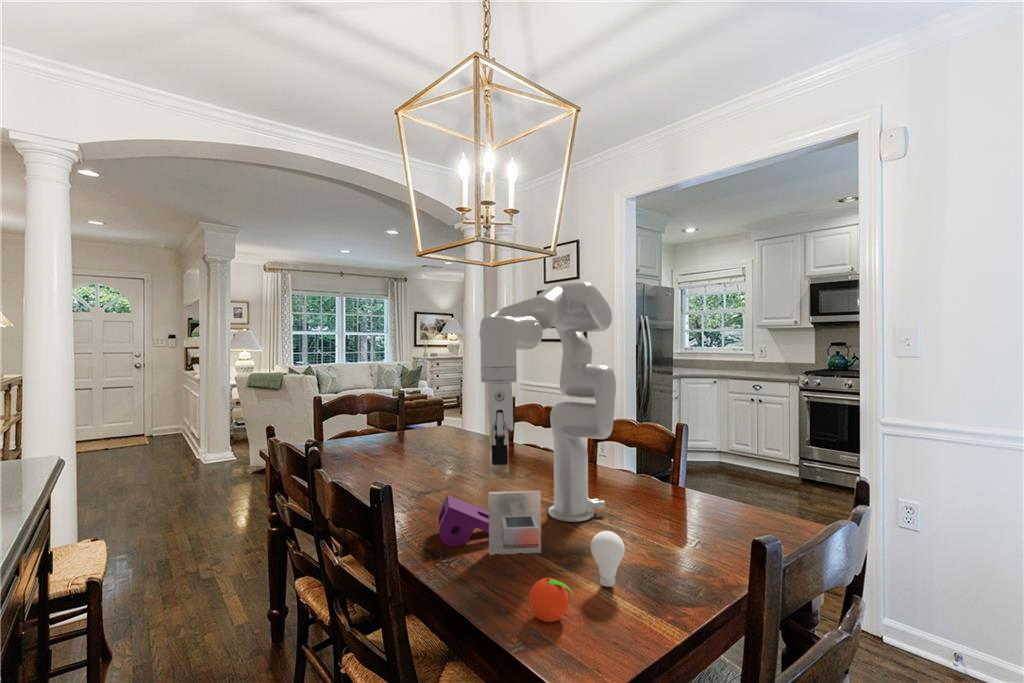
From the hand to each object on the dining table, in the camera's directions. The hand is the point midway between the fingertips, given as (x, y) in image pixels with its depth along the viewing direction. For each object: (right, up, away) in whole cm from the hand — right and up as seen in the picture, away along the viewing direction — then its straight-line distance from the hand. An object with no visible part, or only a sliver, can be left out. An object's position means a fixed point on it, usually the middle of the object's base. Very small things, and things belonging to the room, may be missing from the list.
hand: (499, 460), depth 102 cm
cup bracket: (+4, -24, +3) cm, 24 cm away
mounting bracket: (-6, -24, +20) cm, 32 cm away
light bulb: (+22, -24, -5) cm, 33 cm away
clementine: (+10, -24, -17) cm, 31 cm away
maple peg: (0, -3, 0) cm, 3 cm away
